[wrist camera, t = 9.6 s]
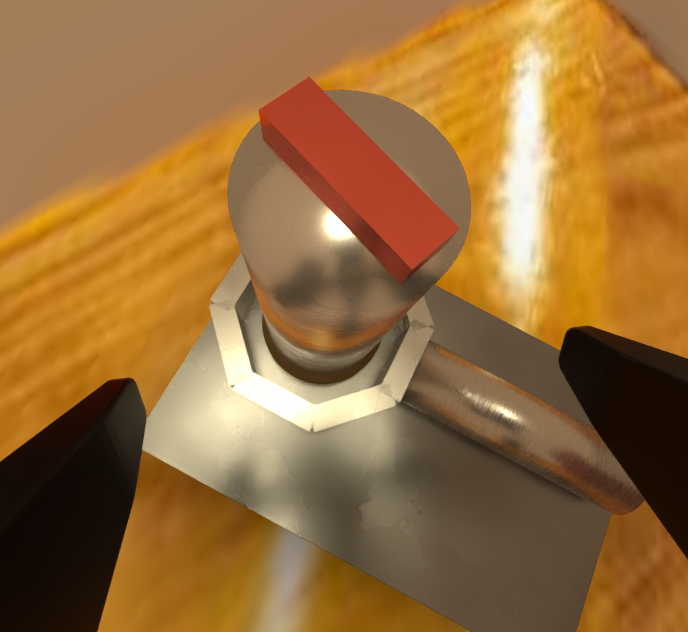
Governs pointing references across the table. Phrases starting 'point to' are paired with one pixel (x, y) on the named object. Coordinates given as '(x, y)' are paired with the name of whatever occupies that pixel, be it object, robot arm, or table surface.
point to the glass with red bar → (343, 223)
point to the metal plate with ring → (409, 457)
